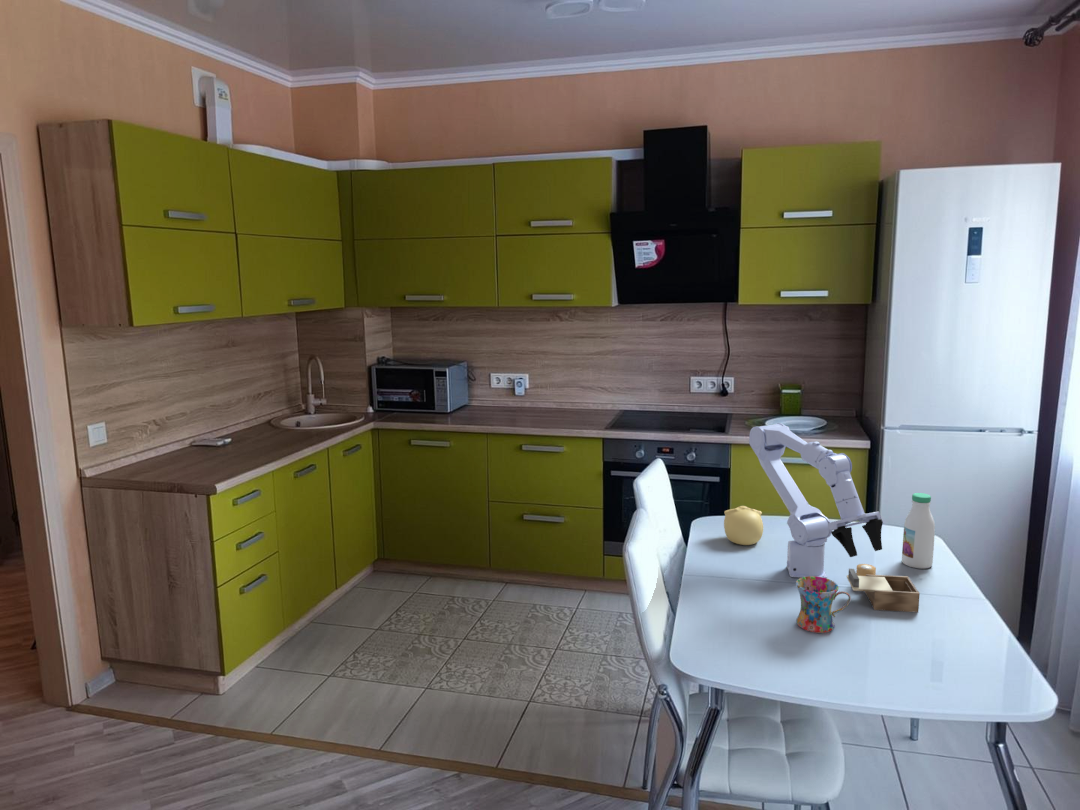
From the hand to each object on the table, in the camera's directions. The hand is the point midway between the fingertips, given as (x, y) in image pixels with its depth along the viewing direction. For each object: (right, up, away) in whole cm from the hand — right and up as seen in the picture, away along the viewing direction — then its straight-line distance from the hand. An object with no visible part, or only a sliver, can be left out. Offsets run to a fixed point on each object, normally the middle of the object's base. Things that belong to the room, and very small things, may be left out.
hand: (866, 553), depth 190 cm
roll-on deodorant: (+4, -10, +10) cm, 15 cm away
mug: (-15, -15, -11) cm, 24 cm away
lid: (+1, -8, +1) cm, 8 cm away
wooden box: (+6, -12, 0) cm, 14 cm away
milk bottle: (+24, -8, +23) cm, 34 cm away
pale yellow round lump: (-19, -5, +43) cm, 48 cm away
